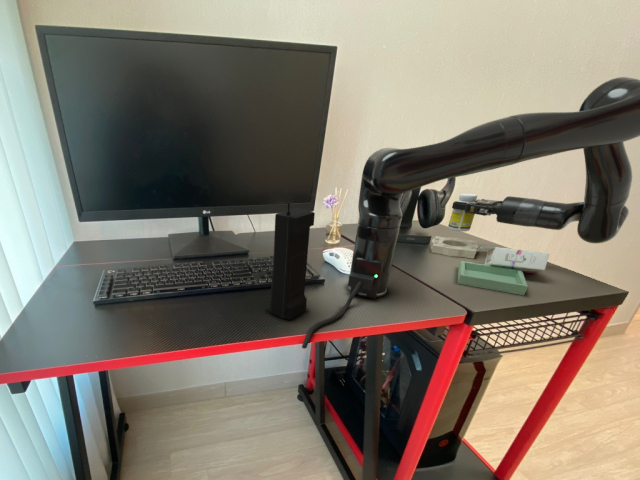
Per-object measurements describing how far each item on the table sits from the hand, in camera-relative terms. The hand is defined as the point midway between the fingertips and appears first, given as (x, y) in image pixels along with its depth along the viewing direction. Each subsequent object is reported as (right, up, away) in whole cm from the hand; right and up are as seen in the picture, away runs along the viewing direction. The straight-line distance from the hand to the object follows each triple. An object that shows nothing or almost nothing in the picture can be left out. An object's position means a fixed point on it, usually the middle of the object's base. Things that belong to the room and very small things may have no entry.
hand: (457, 203), depth 104 cm
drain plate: (+2, -14, +5) cm, 15 cm away
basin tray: (-3, -26, -17) cm, 31 cm away
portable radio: (-59, -34, -29) cm, 74 cm away
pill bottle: (+2, -8, +2) cm, 9 cm away
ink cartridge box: (+11, -21, -17) cm, 30 cm away
